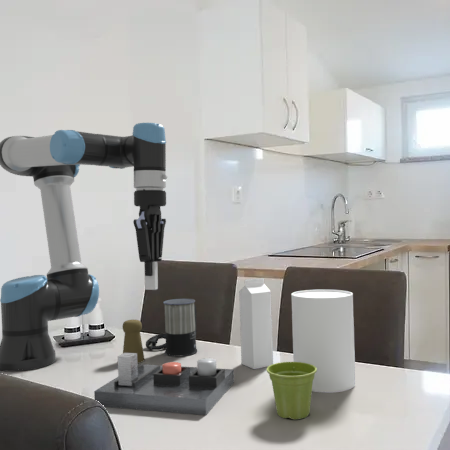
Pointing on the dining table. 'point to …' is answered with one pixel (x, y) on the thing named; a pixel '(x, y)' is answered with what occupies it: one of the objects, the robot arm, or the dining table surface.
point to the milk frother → (177, 328)
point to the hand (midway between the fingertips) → (151, 289)
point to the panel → (167, 390)
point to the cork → (133, 339)
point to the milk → (256, 324)
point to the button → (172, 368)
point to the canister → (325, 337)
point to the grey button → (207, 367)
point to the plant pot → (292, 388)
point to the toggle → (127, 368)
